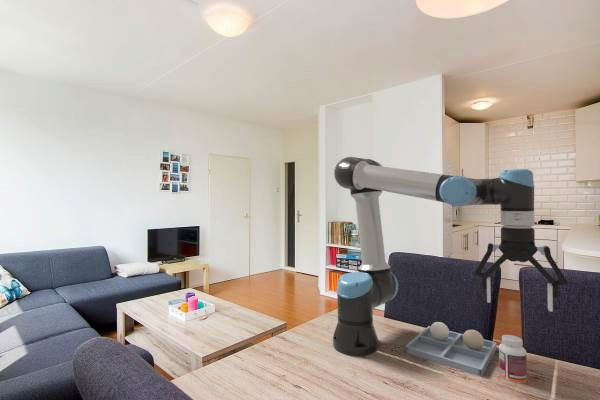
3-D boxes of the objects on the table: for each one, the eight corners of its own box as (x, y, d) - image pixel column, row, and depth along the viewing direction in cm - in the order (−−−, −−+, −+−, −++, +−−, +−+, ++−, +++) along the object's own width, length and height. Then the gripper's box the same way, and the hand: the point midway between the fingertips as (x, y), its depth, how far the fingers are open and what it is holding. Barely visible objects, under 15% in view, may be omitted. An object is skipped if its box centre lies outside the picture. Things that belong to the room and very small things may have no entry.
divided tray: (404, 354, 99) (404, 346, 99) (428, 332, 115) (428, 325, 115) (481, 379, 85) (481, 369, 85) (496, 350, 101) (496, 342, 101)
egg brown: (460, 349, 100) (460, 330, 100) (465, 343, 105) (465, 325, 105) (481, 355, 96) (481, 336, 96) (486, 348, 101) (485, 329, 101)
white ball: (427, 340, 107) (427, 322, 107) (433, 334, 112) (433, 317, 112) (446, 345, 103) (445, 327, 103) (451, 339, 108) (451, 322, 108)
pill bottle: (531, 380, 84) (530, 339, 84) (520, 388, 81) (520, 345, 81) (505, 370, 89) (505, 331, 89) (495, 377, 86) (494, 336, 86)
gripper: (463, 226, 89) (464, 301, 89) (581, 229, 75) (582, 319, 75) (466, 224, 95) (467, 294, 95) (575, 227, 81) (576, 309, 81)
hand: (518, 305), depth 85 cm, fingers open, 13 cm apart
